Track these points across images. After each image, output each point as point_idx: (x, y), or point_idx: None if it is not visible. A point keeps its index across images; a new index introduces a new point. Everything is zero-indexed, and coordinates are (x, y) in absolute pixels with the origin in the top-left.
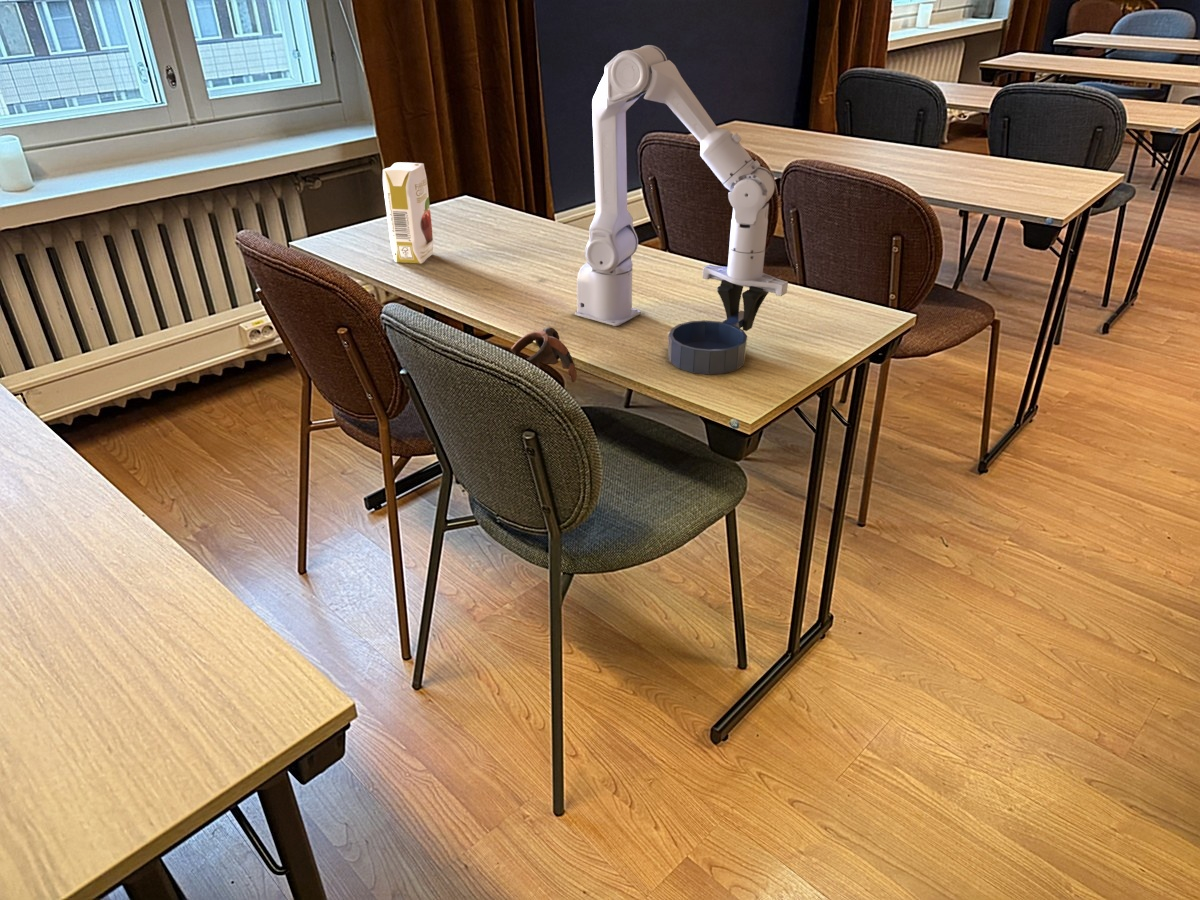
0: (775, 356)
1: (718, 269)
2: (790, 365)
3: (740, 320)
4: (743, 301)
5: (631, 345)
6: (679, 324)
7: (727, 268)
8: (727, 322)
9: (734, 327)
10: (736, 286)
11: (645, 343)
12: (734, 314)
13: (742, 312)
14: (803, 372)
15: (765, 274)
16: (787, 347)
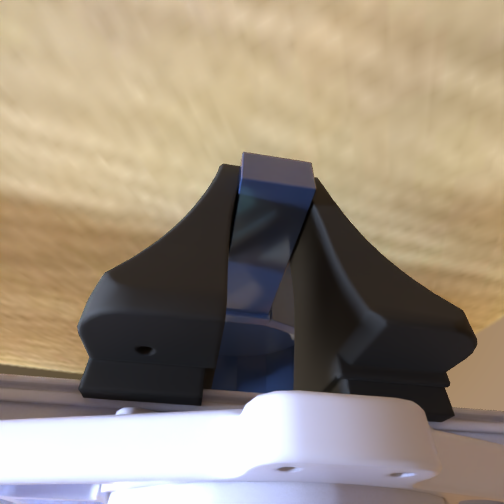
0: (414, 252)
1: (2, 498)
2: (455, 280)
3: (282, 277)
4: (295, 366)
5: (40, 314)
6: None
7: (7, 464)
8: (240, 302)
9: (282, 330)
10: (213, 376)
11: (53, 299)
12: (233, 238)
13: (261, 202)
14: (485, 297)
15: (484, 496)
16: (469, 182)
